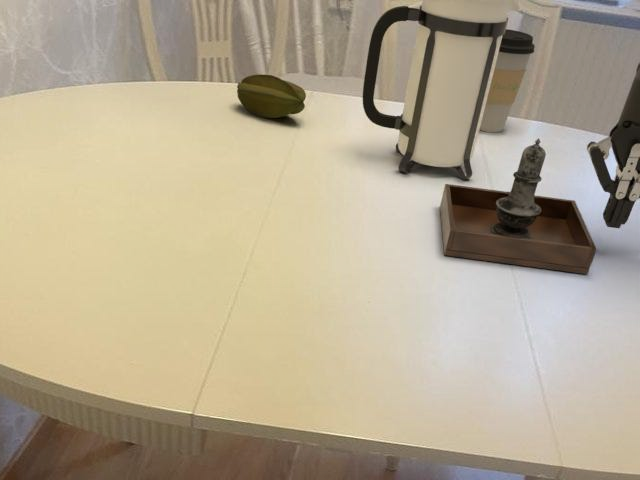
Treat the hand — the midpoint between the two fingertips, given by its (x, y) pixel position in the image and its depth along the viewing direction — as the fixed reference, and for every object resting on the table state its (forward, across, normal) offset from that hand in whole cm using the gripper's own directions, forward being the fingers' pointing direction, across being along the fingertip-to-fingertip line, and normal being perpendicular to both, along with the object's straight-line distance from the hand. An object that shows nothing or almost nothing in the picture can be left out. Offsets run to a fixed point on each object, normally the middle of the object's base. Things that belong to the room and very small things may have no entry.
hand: (612, 225), depth 98 cm
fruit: (+4, -50, +40) cm, 64 cm away
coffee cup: (+4, -11, +50) cm, 51 cm away
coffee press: (+4, -23, +25) cm, 34 cm away
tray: (+4, -12, 0) cm, 13 cm away
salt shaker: (+3, -12, 0) cm, 13 cm away
